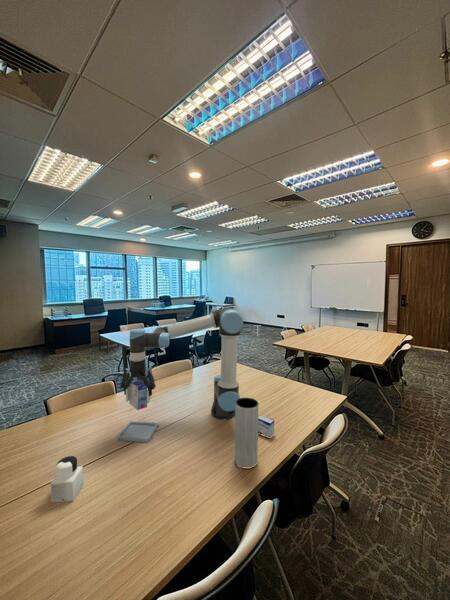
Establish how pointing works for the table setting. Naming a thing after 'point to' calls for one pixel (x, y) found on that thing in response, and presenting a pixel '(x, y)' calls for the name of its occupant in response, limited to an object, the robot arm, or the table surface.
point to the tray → (138, 431)
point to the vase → (246, 432)
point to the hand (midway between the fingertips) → (138, 401)
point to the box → (265, 426)
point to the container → (66, 480)
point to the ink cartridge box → (138, 394)
